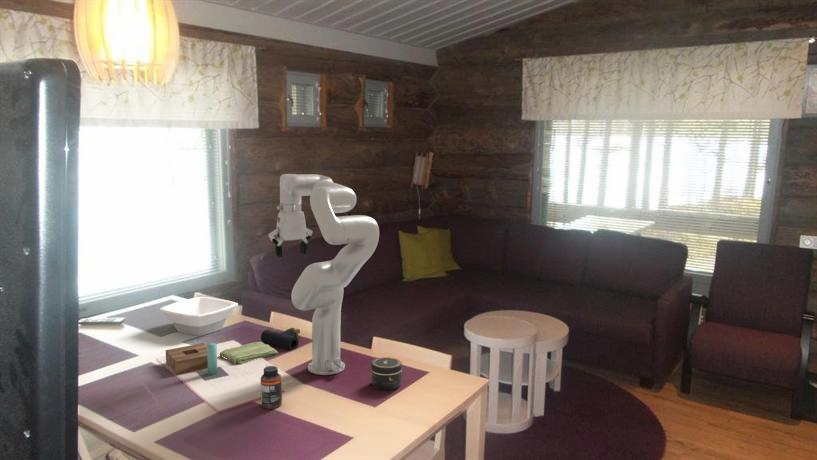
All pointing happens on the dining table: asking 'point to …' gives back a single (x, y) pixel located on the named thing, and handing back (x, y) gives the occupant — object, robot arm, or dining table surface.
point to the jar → (386, 373)
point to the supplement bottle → (271, 388)
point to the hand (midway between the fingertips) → (291, 254)
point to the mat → (208, 377)
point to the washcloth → (248, 352)
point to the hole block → (187, 358)
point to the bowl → (199, 314)
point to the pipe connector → (282, 338)
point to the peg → (212, 358)
